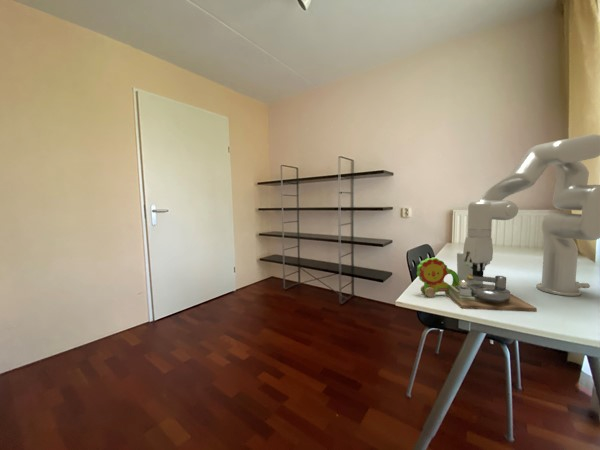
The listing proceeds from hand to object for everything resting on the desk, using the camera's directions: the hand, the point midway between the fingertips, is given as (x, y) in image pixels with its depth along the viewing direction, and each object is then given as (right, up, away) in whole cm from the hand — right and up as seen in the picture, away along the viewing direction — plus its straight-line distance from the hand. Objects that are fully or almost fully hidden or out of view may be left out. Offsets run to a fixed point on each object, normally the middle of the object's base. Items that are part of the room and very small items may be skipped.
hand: (477, 279), depth 99 cm
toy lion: (-15, -7, +2) cm, 16 cm away
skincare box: (+6, -6, +13) cm, 15 cm away
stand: (0, -7, -5) cm, 8 cm away
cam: (0, -5, -6) cm, 8 cm away
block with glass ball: (-8, -6, -3) cm, 10 cm away
